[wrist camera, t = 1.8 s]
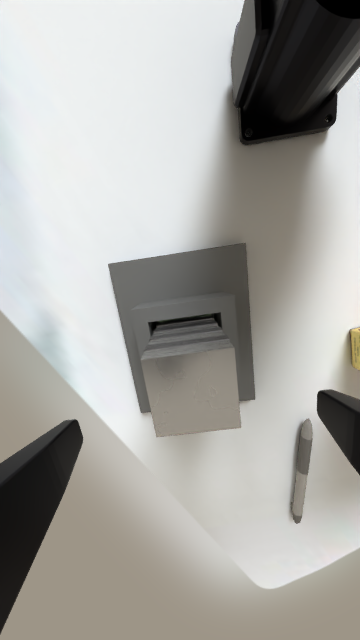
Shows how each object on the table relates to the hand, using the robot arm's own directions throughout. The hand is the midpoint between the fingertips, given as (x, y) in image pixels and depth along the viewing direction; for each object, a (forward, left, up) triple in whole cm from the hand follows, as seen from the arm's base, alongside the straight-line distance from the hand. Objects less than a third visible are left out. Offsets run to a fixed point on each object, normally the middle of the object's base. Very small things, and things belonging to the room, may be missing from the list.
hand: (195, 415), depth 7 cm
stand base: (0, 0, -10) cm, 10 cm away
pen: (-10, +17, -11) cm, 23 cm away
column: (0, 0, -9) cm, 9 cm away
